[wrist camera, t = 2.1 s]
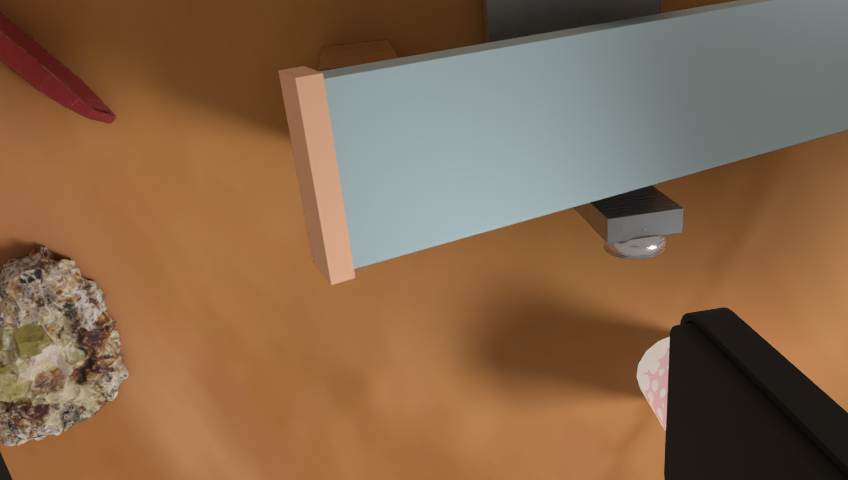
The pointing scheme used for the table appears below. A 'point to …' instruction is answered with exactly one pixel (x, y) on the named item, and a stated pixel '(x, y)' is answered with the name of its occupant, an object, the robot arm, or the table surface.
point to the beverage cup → (655, 378)
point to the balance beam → (553, 121)
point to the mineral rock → (53, 348)
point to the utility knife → (48, 73)
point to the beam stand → (541, 13)
